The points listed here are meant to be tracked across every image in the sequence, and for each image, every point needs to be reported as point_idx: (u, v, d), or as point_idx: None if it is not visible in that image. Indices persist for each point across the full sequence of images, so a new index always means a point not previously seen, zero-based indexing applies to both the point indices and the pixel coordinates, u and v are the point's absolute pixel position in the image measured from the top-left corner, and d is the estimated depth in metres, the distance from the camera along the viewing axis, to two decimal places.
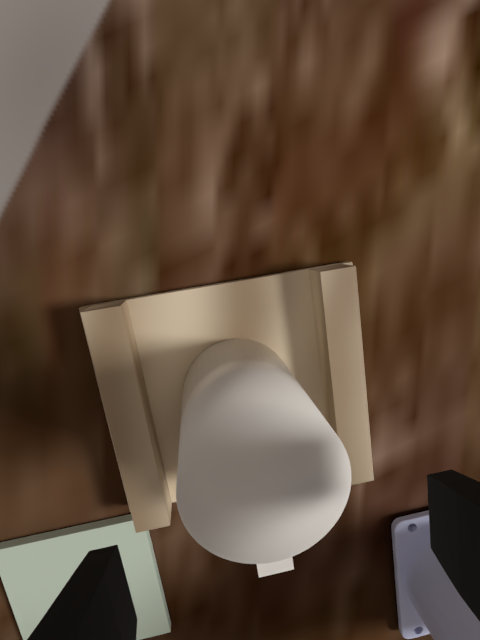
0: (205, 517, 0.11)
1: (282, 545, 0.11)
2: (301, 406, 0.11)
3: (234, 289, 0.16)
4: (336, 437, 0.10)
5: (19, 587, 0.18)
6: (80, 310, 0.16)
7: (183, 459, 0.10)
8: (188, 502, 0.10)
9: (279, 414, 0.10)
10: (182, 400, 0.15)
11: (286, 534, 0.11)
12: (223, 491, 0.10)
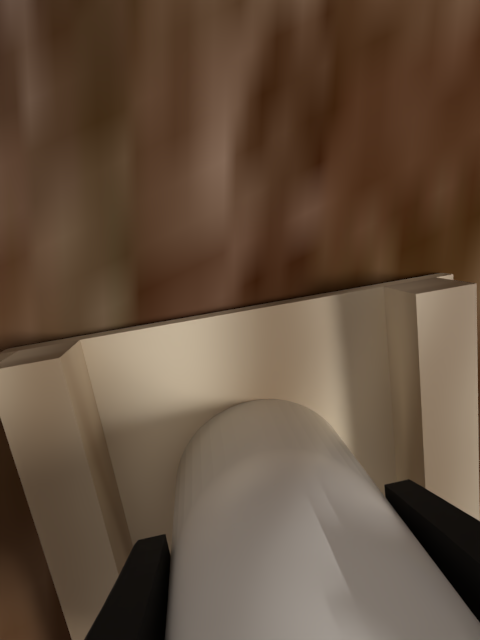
0: None
1: None
2: None
3: (261, 320, 0.10)
4: None
5: None
6: (0, 358, 0.09)
7: None
8: None
9: None
10: (174, 518, 0.09)
11: None
12: None
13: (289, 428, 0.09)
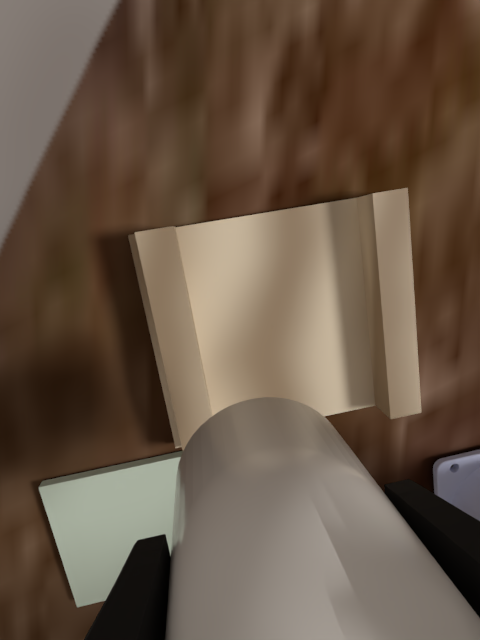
0: None
1: None
2: None
3: (282, 217, 0.16)
4: None
5: (65, 525, 0.18)
6: (129, 237, 0.16)
7: None
8: None
9: None
10: (174, 515, 0.09)
11: None
12: None
13: (290, 426, 0.09)
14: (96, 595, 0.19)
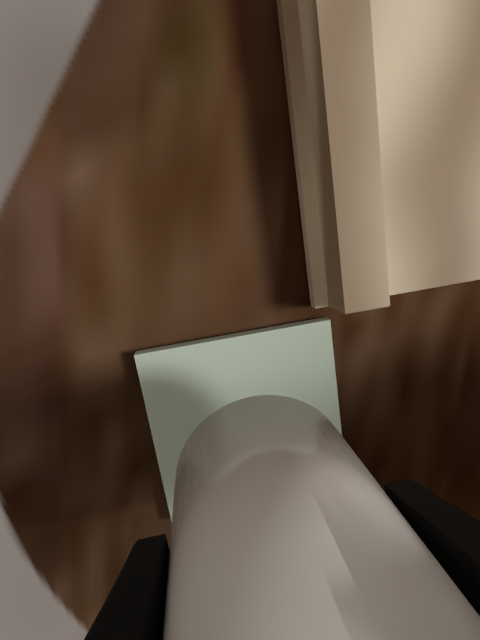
0: None
1: None
2: None
3: None
4: None
5: (166, 411, 0.13)
6: None
7: None
8: None
9: None
10: (173, 510, 0.09)
11: None
12: None
13: (291, 423, 0.09)
14: None
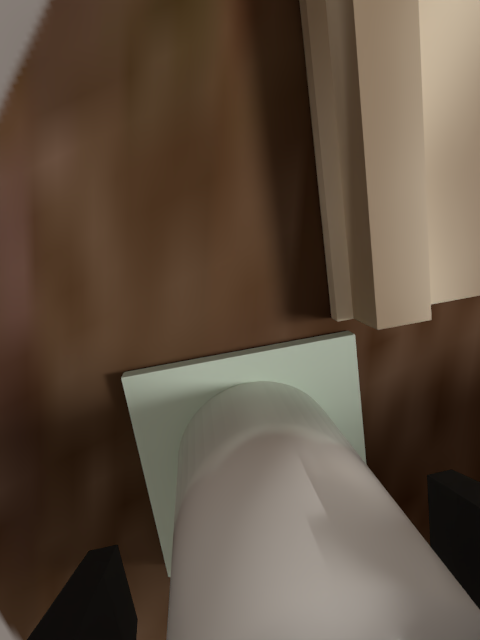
0: None
1: None
2: (429, 576, 0.05)
3: None
4: None
5: (160, 443, 0.11)
6: None
7: None
8: None
9: (392, 607, 0.05)
10: (177, 482, 0.10)
11: None
12: None
13: (283, 405, 0.10)
14: None
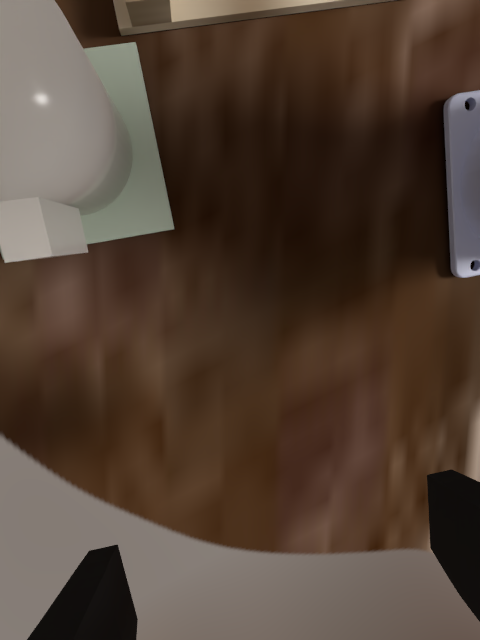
0: None
1: None
2: None
3: None
4: (52, 1, 0.08)
5: None
6: None
7: None
8: None
9: None
10: None
11: (0, 152, 0.08)
12: None
13: None
14: None
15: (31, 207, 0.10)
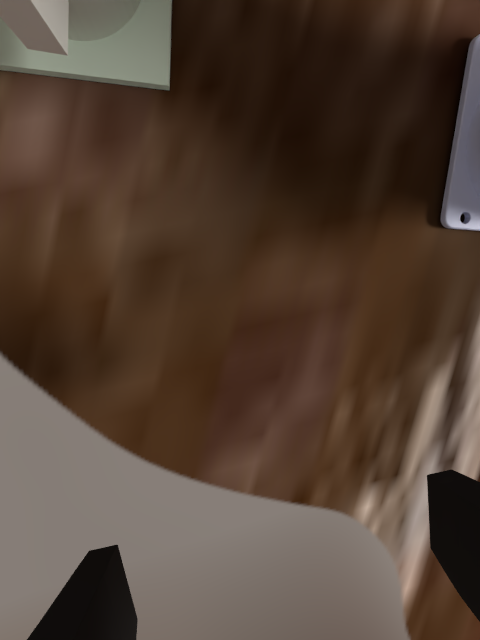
0: None
1: None
2: None
3: None
4: None
5: None
6: None
7: None
8: None
9: None
10: None
11: None
12: None
13: None
14: (5, 52, 0.14)
15: None
